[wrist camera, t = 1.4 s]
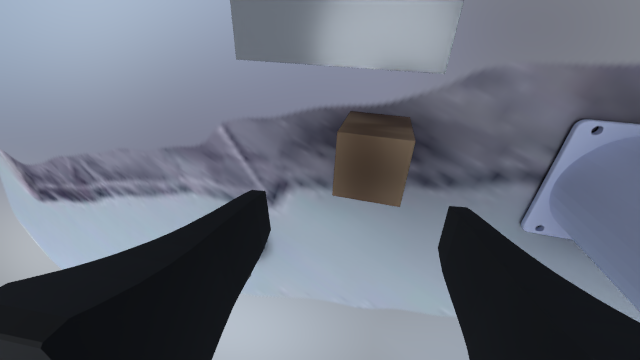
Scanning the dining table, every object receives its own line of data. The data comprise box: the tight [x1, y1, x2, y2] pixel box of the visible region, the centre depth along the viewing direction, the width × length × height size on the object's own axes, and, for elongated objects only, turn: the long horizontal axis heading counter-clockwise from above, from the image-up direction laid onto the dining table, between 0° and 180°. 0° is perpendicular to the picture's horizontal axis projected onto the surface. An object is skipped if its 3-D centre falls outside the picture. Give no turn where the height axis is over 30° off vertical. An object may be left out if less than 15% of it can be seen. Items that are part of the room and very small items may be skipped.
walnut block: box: [332, 111, 415, 207], centre depth 16 cm, size 4×4×5 cm
